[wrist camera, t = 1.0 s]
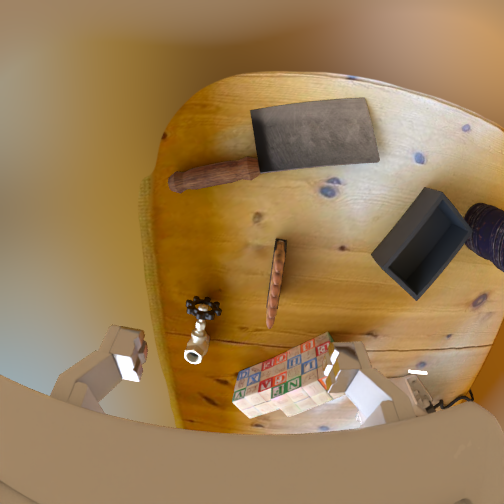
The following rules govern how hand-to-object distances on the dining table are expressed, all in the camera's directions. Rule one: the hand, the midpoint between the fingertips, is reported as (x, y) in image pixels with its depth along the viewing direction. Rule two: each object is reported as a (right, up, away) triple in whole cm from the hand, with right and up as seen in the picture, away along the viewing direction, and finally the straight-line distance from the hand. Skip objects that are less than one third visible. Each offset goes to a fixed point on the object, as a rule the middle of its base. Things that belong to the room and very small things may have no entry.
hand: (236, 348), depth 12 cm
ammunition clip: (+5, +1, +38) cm, 38 cm away
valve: (-9, -10, +43) cm, 45 cm away
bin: (+30, +7, +33) cm, 45 cm away
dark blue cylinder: (+45, +9, +30) cm, 55 cm away
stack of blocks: (+8, -19, +44) cm, 49 cm away
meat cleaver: (+3, +22, +31) cm, 38 cm away
